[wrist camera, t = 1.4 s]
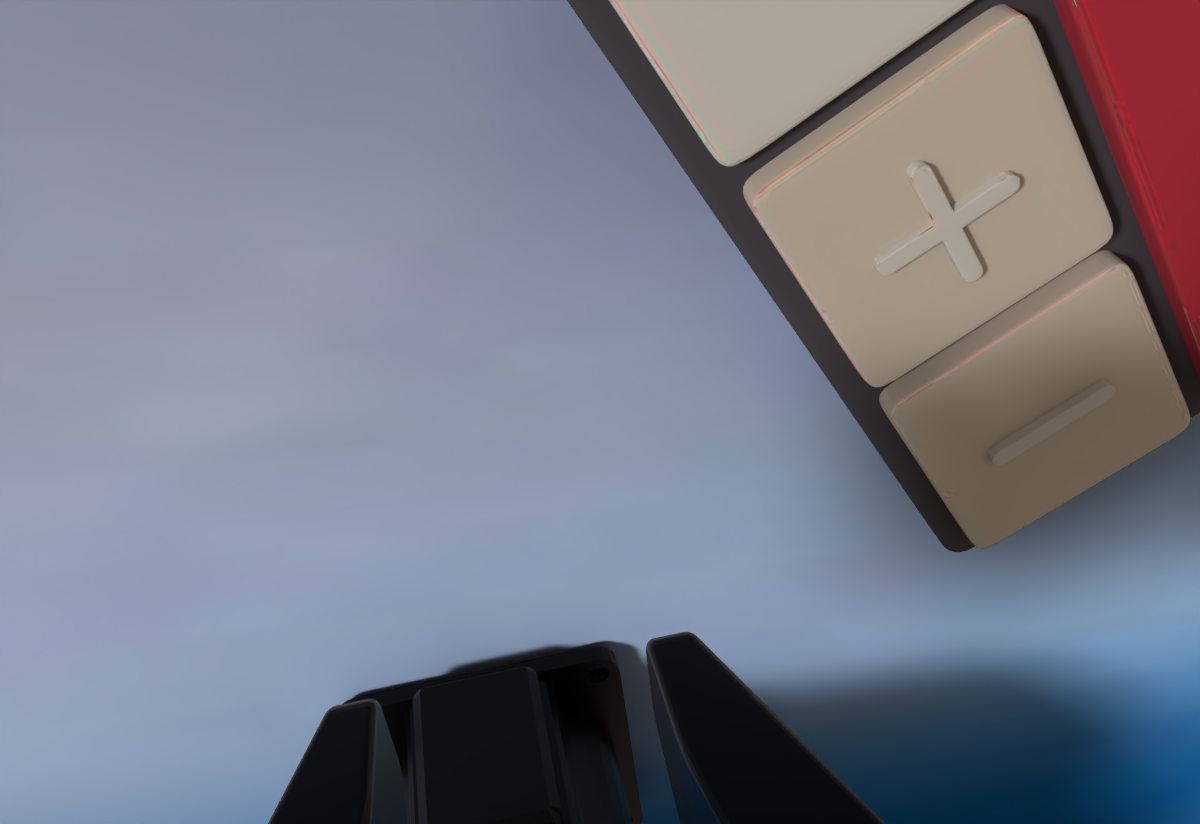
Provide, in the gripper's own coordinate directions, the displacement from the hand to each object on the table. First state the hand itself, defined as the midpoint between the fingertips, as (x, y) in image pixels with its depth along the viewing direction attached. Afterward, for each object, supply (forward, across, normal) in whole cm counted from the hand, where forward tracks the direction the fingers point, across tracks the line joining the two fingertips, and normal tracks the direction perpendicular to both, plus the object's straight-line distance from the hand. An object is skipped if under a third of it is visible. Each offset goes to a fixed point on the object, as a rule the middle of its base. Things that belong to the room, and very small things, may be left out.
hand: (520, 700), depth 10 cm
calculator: (+13, -10, 0) cm, 16 cm away
